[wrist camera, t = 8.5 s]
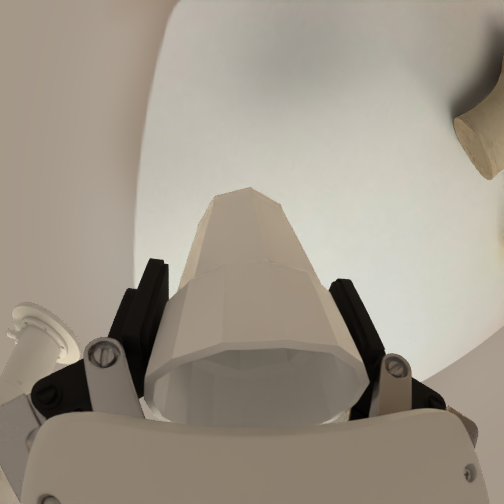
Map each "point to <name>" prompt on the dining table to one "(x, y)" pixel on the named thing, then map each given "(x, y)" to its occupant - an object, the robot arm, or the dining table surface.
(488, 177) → the vase
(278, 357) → the cup
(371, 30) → the dining table surface
